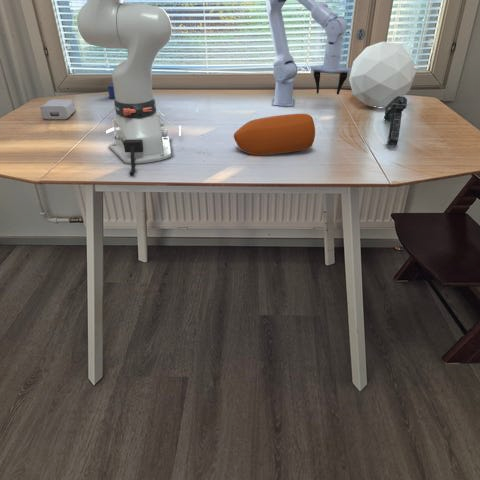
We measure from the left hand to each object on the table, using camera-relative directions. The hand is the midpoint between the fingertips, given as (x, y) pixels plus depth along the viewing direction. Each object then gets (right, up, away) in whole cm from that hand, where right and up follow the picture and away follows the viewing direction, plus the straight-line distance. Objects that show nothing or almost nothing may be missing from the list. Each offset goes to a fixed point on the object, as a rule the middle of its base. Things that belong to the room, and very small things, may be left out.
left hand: (100, 7), depth 154 cm
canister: (0, -27, +19) cm, 33 cm away
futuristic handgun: (+105, -52, -14) cm, 118 cm away
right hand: (+87, -32, +2) cm, 92 cm away
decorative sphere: (+109, -33, +13) cm, 114 cm away
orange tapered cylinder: (+63, -60, -27) cm, 91 cm away
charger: (-14, -40, 0) cm, 43 cm away
